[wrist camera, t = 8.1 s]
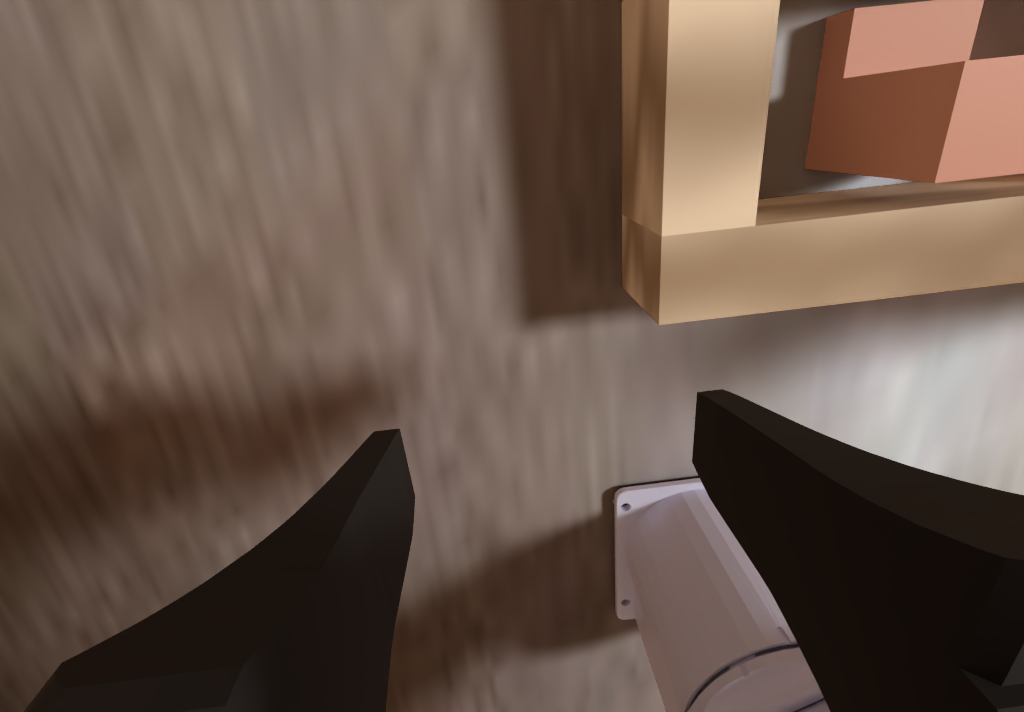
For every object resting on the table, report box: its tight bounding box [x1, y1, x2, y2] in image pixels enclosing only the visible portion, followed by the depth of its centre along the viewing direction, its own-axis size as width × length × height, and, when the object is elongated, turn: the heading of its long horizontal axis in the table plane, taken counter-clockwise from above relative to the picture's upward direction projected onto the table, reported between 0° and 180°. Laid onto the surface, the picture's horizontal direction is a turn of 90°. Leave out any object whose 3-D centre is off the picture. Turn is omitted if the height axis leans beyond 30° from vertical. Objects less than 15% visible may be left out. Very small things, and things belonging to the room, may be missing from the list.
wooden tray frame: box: [622, 0, 1024, 325], centre depth 16 cm, size 13×19×4 cm
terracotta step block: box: [805, 0, 1024, 183], centre depth 16 cm, size 5×4×6 cm
